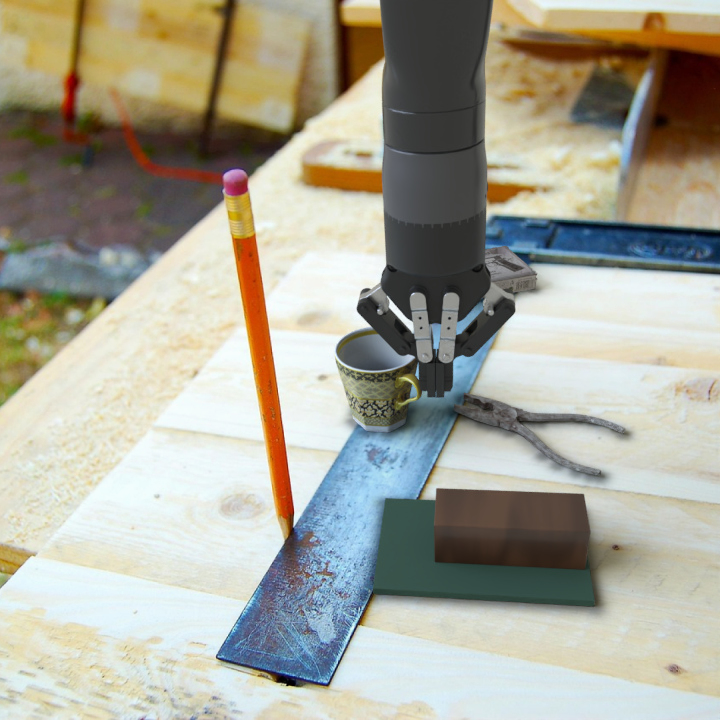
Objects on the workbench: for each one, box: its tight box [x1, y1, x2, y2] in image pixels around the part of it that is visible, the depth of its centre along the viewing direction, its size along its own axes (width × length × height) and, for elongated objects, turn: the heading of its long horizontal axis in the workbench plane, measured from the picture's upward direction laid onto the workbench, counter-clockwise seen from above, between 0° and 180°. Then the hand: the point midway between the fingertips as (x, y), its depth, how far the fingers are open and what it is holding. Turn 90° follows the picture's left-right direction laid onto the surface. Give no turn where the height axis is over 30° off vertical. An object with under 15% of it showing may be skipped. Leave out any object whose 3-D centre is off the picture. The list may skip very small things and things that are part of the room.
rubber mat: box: [372, 497, 596, 607], centre depth 75 cm, size 20×12×1 cm, turn 83°
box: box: [482, 245, 538, 299], centre depth 120 cm, size 11×17×3 cm, turn 108°
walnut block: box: [434, 487, 591, 570], centre depth 73 cm, size 5×5×14 cm
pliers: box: [452, 392, 626, 476], centre depth 89 cm, size 10×1×20 cm
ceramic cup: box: [333, 326, 423, 433], centre depth 90 cm, size 13×10×10 cm
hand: (436, 392), depth 65 cm, fingers closed
